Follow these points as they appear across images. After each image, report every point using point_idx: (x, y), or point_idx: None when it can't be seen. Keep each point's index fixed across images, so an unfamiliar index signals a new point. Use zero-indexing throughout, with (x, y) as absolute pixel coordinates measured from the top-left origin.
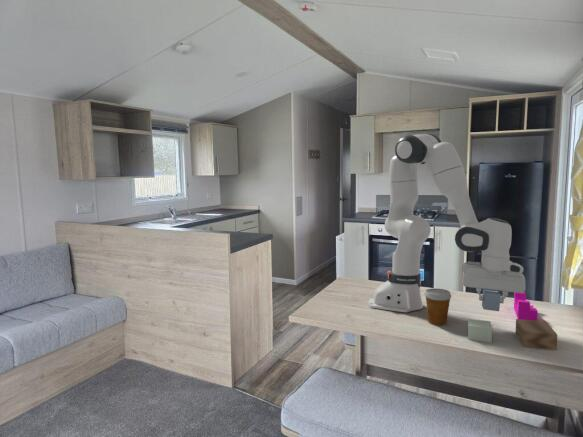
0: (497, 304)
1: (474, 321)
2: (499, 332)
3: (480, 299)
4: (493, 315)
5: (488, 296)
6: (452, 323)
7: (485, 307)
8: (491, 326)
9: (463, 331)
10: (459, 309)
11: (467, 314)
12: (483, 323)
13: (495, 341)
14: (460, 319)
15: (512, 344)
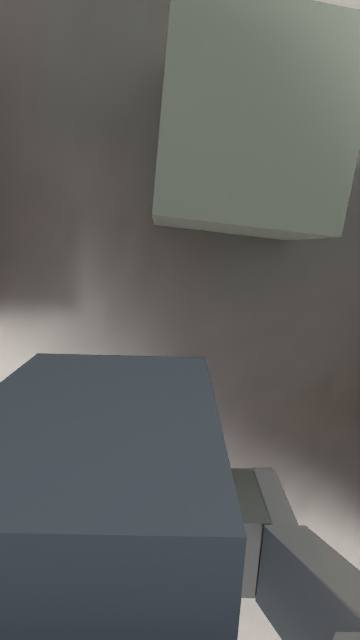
0: (24, 392)
1: (302, 169)
2: (85, 286)
3: (262, 474)
4: None
5: (154, 470)
6: (352, 377)
7: (187, 365)
8: (167, 38)
9: (315, 245)
10: (261, 619)
11: None
12: (229, 126)
13: (136, 92)
14: (289, 460)
15: (25, 55)
